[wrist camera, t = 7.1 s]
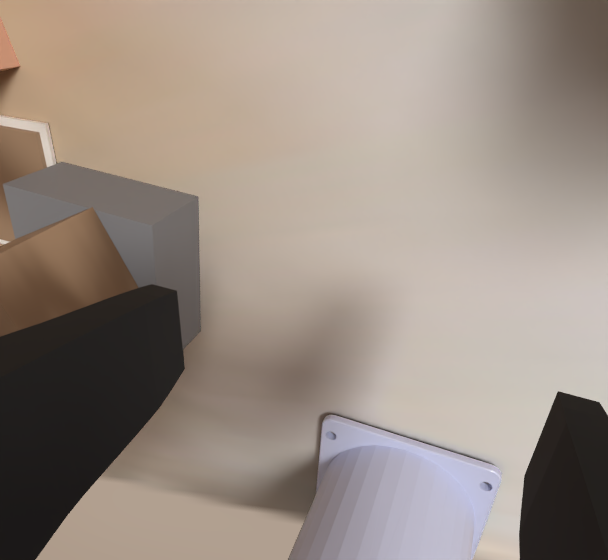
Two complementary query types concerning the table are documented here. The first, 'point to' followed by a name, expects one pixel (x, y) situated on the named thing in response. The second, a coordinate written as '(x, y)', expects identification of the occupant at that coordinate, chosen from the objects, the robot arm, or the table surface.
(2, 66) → the terracotta cube
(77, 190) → the plinth
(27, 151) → the swatch
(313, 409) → the table surface
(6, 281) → the walnut cube
